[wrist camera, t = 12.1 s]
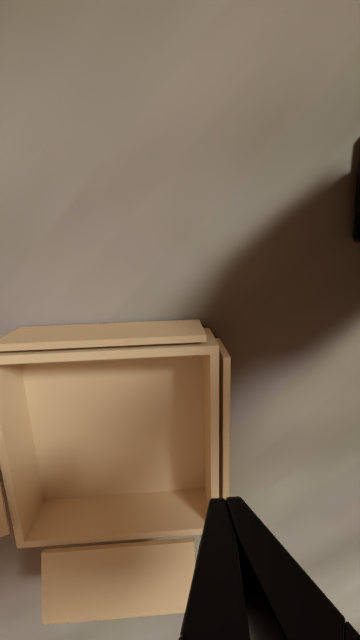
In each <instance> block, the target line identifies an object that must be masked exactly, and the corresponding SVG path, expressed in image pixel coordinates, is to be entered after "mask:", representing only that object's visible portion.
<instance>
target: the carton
mask: <svg viewBox="0 0 360 640" xmlns="http://www.w3.org/2000/svg"><path fill="white" fill-rule="evenodd" d="M230 374H231V357H230V355H229V353H228V352H227V350H226V348H225V347H224V345H223V343H222V342H221V340H220V338H215V337H214V335H213V334H212V332H211V330H210V328H203V327H202V325H201V323H200V320H199V319H197V320H173V321H150V322H126V323H103V324H80V325H56V326H33V327H20V328H18V329H16V330H14V331H13V332H11V333H9V334H7V335H6V336H4V337H2V338H0V467H1V472H2V477H3V482H4V487H5V492H6V497H7V501H8V506H9V511H10V516H11V521H12V526H13V531H14V536H15V541H16V546H17V548H30V547H44V546H57V545H70V544H84V543H97V542H110V541H123V540H137V539H150V538H163V537H177V536H190V535H202V532H203V527H204V522H205V518H206V513H207V509H208V504H209V500H210V499H211V498H224V499H226V498H227V497H229V471H230Z"/></svg>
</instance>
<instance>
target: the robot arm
mask: <svg viewBox="0 0 360 640" xmlns="http://www.w3.org/2000/svg"><path fill="white" fill-rule="evenodd" d="M354 208H355V220H354V230H353V239H354V241H355V242H357V243H360V165H359V166H358V175H357V185H356V195H355V205H354ZM180 636H181V637H180V638H179V640H360V635H359V633H358V632H357V631H356V630H355V629H354V628H353V626H352V625H351V624H350V623H349V622H346V623H345V618H344V616H343V615H342V614H341V613H340V612H339V610H338V609H337V608H336V607H335V606H334V605H333V603H332V602H331V601H330V600H329V599H328V598H327V597H326V595H325V594H324V593H323V592H322V591H321V590H320V588H319V587H318V586H317V585H316V584H315V583H314V581H313V580H312V579H311V578H310V577H309V576H308V575H307V573H306V572H305V571H304V570H303V569H302V568H301V566H300V565H299V564H298V563H297V562H296V561H295V559H294V558H293V557H292V556H291V555H290V554H289V553H288V551H287V550H286V549H285V548H284V547H283V546H282V544H281V543H280V542H279V541H278V540H277V539H276V537H275V536H274V535H273V534H272V533H271V532H270V531H269V529H268V528H267V527H266V526H265V525H264V524H263V522H262V521H261V520H260V519H259V518H258V517H257V515H256V514H255V513H254V512H253V511H252V510H251V509H250V507H249V506H248V505H247V504H246V503H245V502H244V500H243V499H242V498H241V497H238V496H237V497H227V498H226V499H224V498H211V499H210V500H209V504H208V509H207V513H206V518H205V522H204V527H203V532H202V536H201V541H200V545H199V550H198V555H197V559H196V564H195V568H194V573H193V578H192V582H191V587H190V591H189V596H188V601H187V605H186V610H185V614H184V619H183V624H182V628H181V633H180Z"/></svg>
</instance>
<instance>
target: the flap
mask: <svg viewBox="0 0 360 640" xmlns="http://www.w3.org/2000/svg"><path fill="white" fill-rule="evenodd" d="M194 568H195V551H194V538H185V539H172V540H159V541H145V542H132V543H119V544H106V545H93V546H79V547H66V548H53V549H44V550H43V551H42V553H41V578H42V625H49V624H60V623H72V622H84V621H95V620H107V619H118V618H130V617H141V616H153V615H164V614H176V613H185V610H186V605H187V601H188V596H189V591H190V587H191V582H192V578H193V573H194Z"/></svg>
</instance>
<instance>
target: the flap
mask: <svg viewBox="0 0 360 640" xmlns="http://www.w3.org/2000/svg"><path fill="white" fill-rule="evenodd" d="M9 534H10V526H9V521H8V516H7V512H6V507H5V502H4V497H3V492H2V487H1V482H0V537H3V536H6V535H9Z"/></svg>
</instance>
